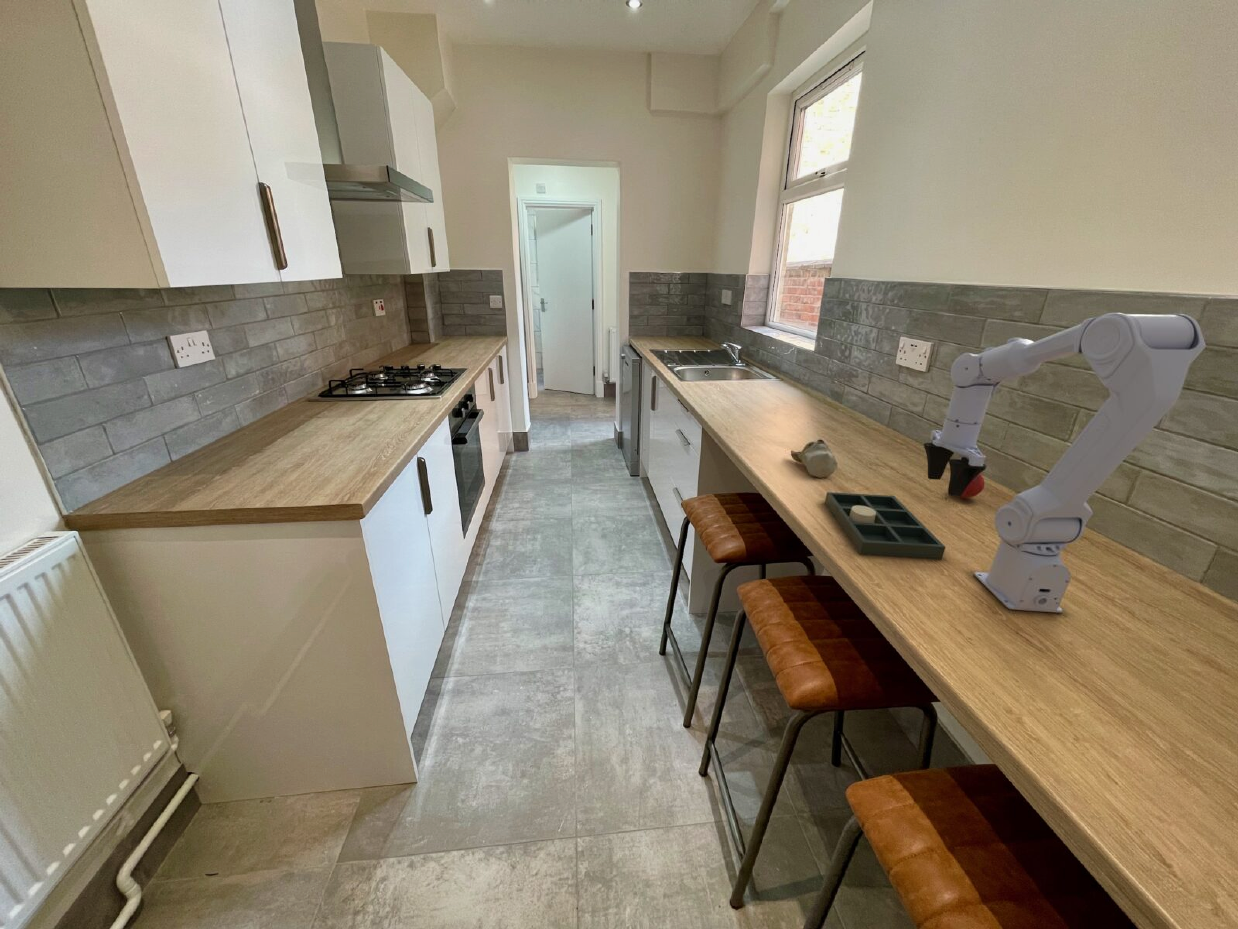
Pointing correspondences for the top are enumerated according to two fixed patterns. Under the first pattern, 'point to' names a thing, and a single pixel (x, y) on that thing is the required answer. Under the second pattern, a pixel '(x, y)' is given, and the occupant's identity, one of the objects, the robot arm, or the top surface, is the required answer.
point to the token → (862, 514)
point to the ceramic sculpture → (816, 459)
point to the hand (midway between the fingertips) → (943, 486)
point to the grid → (884, 527)
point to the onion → (974, 487)
